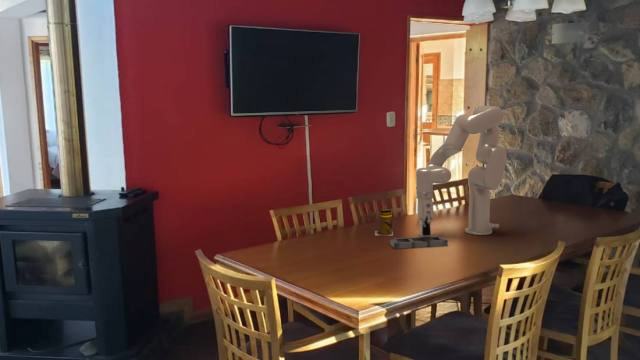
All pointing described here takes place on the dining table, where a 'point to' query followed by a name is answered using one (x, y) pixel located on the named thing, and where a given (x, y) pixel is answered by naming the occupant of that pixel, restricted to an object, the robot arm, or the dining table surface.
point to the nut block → (421, 225)
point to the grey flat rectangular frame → (418, 242)
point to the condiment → (385, 223)
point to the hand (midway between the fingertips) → (425, 233)
